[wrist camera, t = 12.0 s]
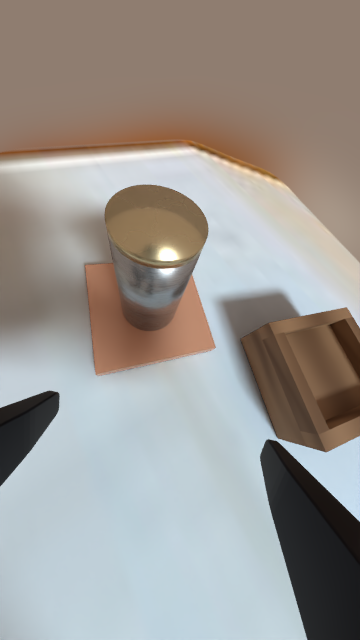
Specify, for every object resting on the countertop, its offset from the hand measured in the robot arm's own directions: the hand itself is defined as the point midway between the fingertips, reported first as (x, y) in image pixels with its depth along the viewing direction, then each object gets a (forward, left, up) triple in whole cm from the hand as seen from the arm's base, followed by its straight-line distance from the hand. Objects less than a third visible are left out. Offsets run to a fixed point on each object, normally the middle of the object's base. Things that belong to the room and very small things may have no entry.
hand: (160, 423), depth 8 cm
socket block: (+15, 0, -7) cm, 16 cm away
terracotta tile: (+2, +9, -7) cm, 12 cm away
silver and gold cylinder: (+2, +9, -6) cm, 11 cm away
